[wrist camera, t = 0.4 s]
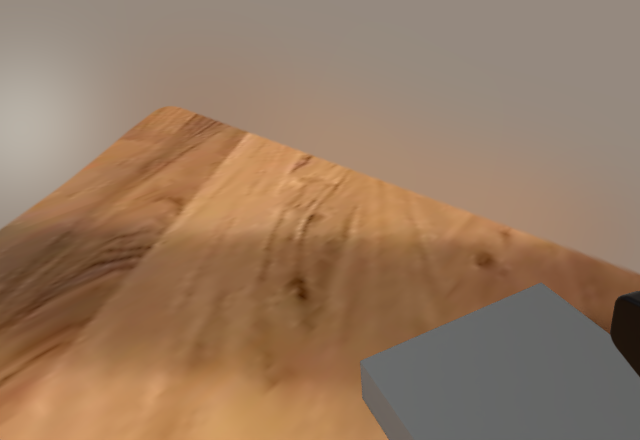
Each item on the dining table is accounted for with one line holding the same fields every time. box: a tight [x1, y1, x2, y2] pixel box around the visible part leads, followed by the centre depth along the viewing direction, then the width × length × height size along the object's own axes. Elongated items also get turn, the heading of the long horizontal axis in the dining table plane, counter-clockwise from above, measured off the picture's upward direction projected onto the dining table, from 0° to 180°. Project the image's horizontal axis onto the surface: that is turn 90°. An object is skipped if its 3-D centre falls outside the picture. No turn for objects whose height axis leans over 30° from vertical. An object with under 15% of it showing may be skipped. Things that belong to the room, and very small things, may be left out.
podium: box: [360, 283, 640, 440], centre depth 24 cm, size 12×12×3 cm
